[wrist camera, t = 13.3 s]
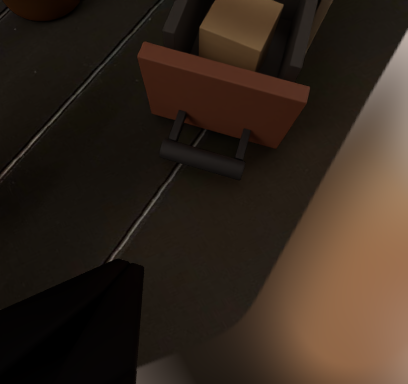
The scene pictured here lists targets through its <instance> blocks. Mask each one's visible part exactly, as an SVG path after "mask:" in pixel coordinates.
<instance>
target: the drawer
mask: <svg viewBox="0 0 408 384" xmlns="http://www.w3.org/2000/svg"><path fill="white" fill-rule="evenodd" d="M273 1H275V2H278V3H281V4H283V5H284V6H283V9H282V12H281V15H280V18H279V21H278V24H277V27H276V30H275V33H274V36H273V39H272V42H271V44H270V47H269V50H268V53H267V55H266V57H265V59H264V61H263V64H262V66H261V68H260V70H259V72H258V73H257V72H253V71H250V70H246V69H243V68H239V67H235V66H232V65H228V64H224V63H221V62H217V61H213V60H210V59H206V58H202V57H199V27H200V25H201V24H202V22H203V20H204V19H205V17H206V15H207V13H208V12H209V10H210V8H211V7H212V5H213V3H214V2H215V0H175V2H174V4H173V7H172V9H171V11H170V14H169V16H168V18H167V21H166V23H165V25H164V28H163V30H162V31H163V39H164V47H162V46H159V45H155V44H151V43H148V42H143V44H142V47H141V49H140V51H139V53H138V56H137V58H138V62H139V65H140V69H141V73H142V77H143V81H144V85H145V88H146V92H147V96H148V100H149V104H150V108H151V111H152V114H155V115H159V116H162V117H166V118H169V119H173V120H175V122H174V124H173V127H172V130H171V132H170V135H169V138H168V139H164V140H163V142H162V145H161V148H160V157H161V158H164V159H168V160H171V161H175V162H178V163H181V164H185V165H188V166H192V167H195V168H198V169H202V170H205V171H209V172H212V173H216V174H219V175H222V176H226V177H229V178H233V179H236V180H240V179H241V177H242V174H243V171H244V167H245V161H243V159H244V155H245V151H246V148H247V144H248V141H250V142H253V143H257V144H260V145H264V146H267V147H271V148H274V149H276V148H277V147H278V145H279V144H280V142H281V141H282V139H283V138H284V137H285V135H286V134H287V132H288V131H289V129H290V128H291V126H292V125H293V123H294V122H295V120H296V119H297V117H298V116H299V114H300V113H301V111H302V110H303V108H304V107H305V105H306V104H307V100H308V95H309V91H310V87H308V86H305V85H301V84H297V83H294V82H295V80H296V78H297V76H298V75H299V73H300V71H301V69H302V66H303V62H304V57H305V53H306V49H307V45H308V41H309V36H310V32H311V28H312V24H313V20H314V15H315V11H316V7H317V3H318V0H273ZM184 123H187V124H190V125H194V126H197V127H201V128H204V129H208V130H211V131H215V132H218V133H222V134H225V135H229V136H232V137H236V138H239V139H240V141H239V145H238V148H237V152H236V155H235V159H234V158H231V157H227V156H224V155H221V154H217V153H214V152H210V151H207V150H203V149H200V148H196V147H193V146H190V145H186V144H183V143H179V142H177V141H178V138H179V136H180V133H181V130H182V127H183V124H184Z"/></svg>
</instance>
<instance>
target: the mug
mask: <svg viewBox="0 0 408 384" xmlns="http://www.w3.org/2000/svg"><path fill="white" fill-rule="evenodd" d="M2 1H3V2H4V3H5V4H6V6H7V7H8V8H9V9H10V10H11V11H13V12H14V13H15V14H17V15H19V16H21V17H23V18H25V19H28V20H32V21H50V20H55V19H58V18H61V17H63V16H65V15H67V14H68V13H70V12H71V11H72V10H74V9H75V8H76V6H77V5H78V4H79V3H80V1H81V0H2Z"/></svg>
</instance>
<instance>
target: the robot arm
mask: <svg viewBox="0 0 408 384" xmlns="http://www.w3.org/2000/svg"><path fill="white" fill-rule="evenodd" d="M143 278H144V267H143V266H141V265H138V264H135V263H131V264H130V263H129V262H128V261H125V260H121V259H115V260H112V261H110V262H108V263H106V264H103V265H101V266H99V267H97V268H94V269H92V270H90V271H88V272H85V273H83V274H81V275H79V276H76V277H74V278H72V279H70V280H67V281H65V282H63V283H61V284H58V285H56V286H54V287H52V288H49V289H47V290H45V291H43V292H40V293H38V294H36V295H34V296H31V297H29V298H27V299H25V300H22V301H20V302H18V303H16V304H13V305H11V306H9V307H7V308H4V309H2V310H0V384H136V374H137V371H136V369H137V358H138V345H139V331H140V318H141V305H142V291H143Z"/></svg>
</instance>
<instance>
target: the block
mask: <svg viewBox="0 0 408 384" xmlns="http://www.w3.org/2000/svg"><path fill="white" fill-rule="evenodd" d="M283 6H284V5H283V4H281V3H278V2H275V1H273V0H215V2H214V3H213V5H212V7H211V8H210V10H209V12H208V13H207V15H206V17H205V19H204V20H203V22H202V24H201V25H200V27H199V57H202V58H206V59H210V60H213V61H217V62H221V63H224V64H228V65H232V66H235V67H239V68H243V69H246V70H250V71H253V72H257V73H258V72H259V70H260V68H261V66H262V64H263V61H264V59H265V57H266V55H267V53H268V50H269V47H270V44H271V42H272V39H273V36H274V33H275V30H276V27H277V24H278V21H279V18H280V15H281V12H282V9H283Z"/></svg>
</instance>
